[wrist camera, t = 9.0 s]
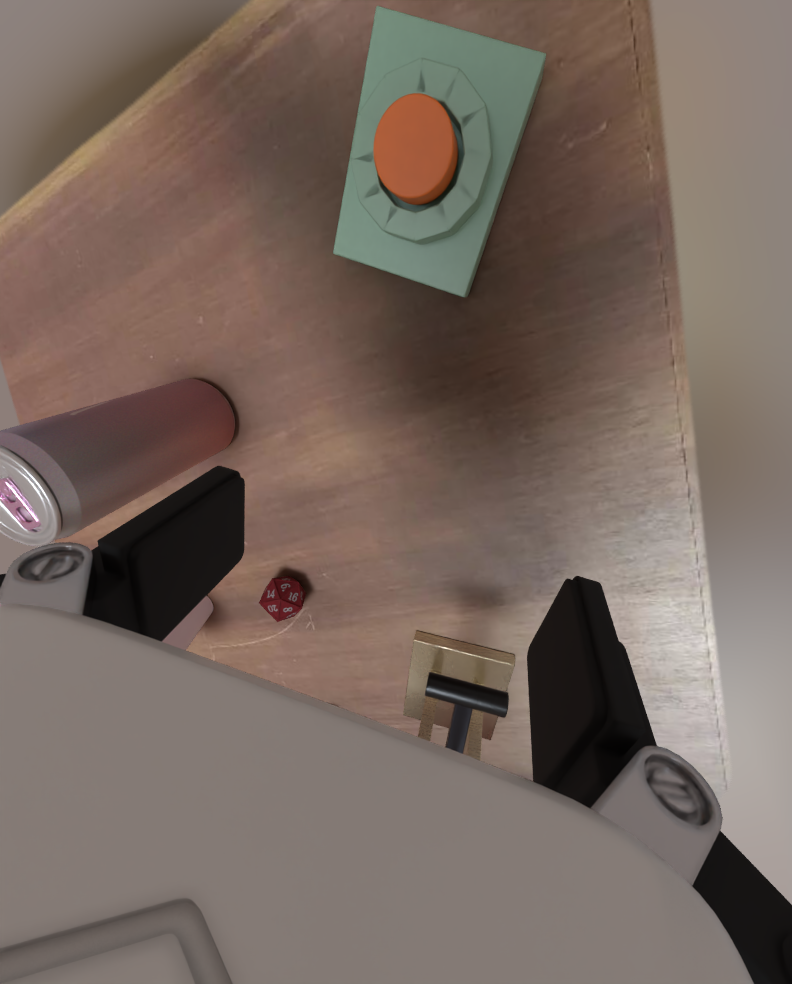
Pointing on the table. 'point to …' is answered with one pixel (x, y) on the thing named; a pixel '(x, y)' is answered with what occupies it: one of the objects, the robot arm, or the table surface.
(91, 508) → the beverage can
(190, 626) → the smoothie
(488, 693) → the lever
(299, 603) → the dice
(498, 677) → the bracket
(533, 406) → the table surface
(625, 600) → the table surface
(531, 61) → the button block
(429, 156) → the button
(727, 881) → the robot arm
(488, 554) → the table surface
